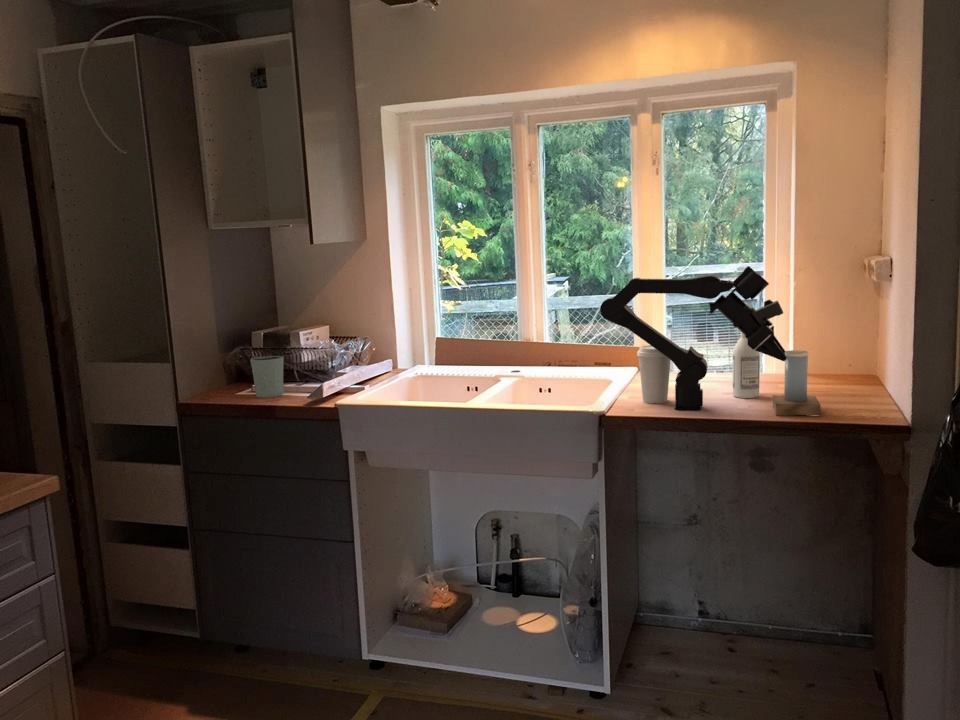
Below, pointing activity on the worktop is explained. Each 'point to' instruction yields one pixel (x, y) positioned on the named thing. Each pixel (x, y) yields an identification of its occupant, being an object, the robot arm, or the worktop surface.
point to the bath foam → (745, 370)
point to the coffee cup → (653, 374)
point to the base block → (796, 406)
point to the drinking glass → (268, 376)
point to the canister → (796, 376)
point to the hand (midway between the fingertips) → (785, 356)
